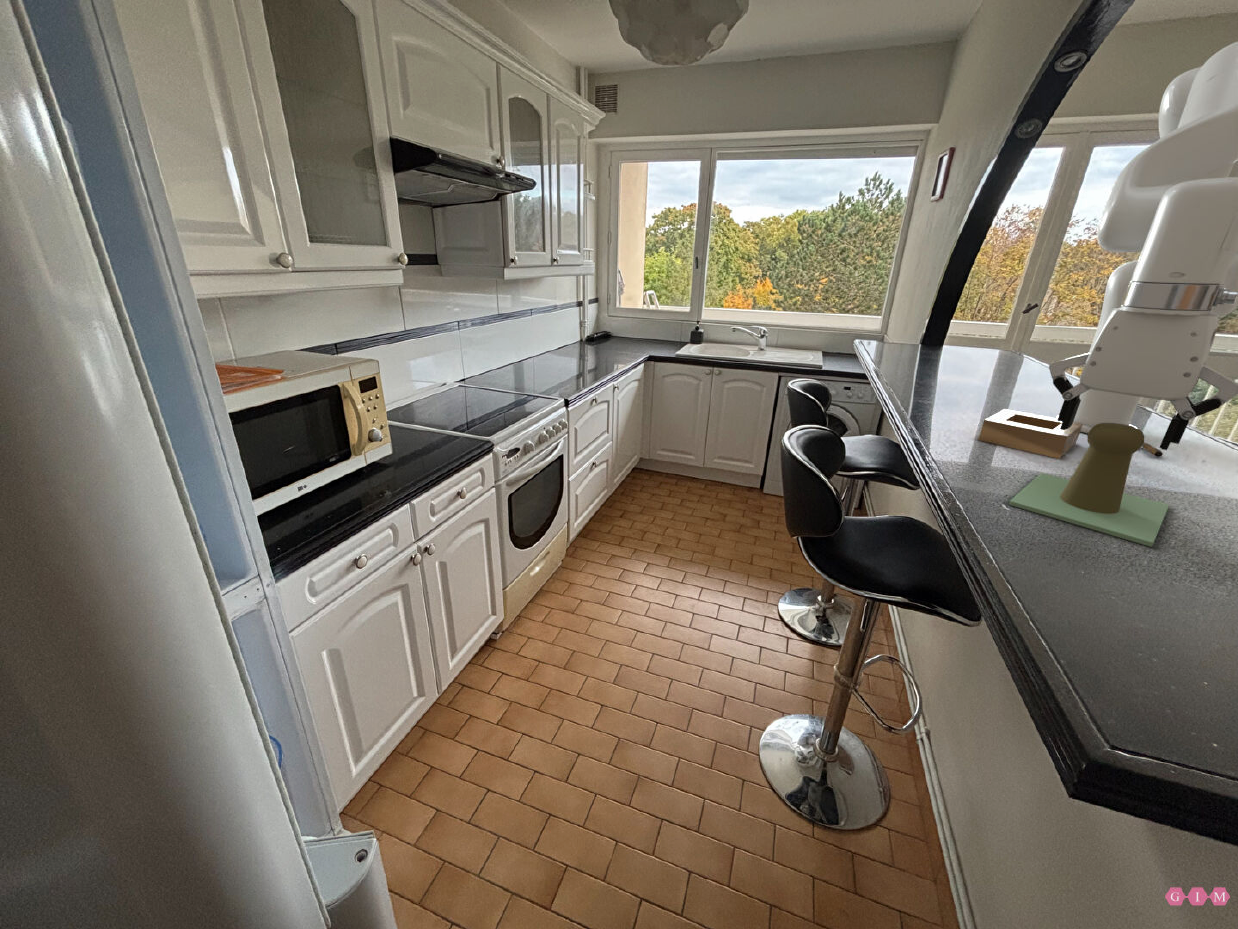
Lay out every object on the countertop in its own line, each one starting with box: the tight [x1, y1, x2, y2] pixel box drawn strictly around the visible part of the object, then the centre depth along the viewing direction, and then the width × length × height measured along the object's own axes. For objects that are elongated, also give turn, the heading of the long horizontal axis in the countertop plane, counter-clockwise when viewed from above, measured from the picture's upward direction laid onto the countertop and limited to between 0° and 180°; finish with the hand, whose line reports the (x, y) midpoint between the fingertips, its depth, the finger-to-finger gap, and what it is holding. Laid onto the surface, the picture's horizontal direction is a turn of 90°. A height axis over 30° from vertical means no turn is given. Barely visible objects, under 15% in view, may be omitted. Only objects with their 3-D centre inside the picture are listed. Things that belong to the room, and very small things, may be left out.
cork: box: [1060, 423, 1146, 514], centre depth 66 cm, size 6×6×11 cm
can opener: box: [1141, 441, 1164, 458], centre depth 90 cm, size 9×2×1 cm, turn 147°
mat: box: [1008, 472, 1170, 548], centre depth 68 cm, size 16×14×1 cm
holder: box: [977, 408, 1083, 460], centre depth 92 cm, size 12×12×4 cm
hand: (1112, 437), depth 66 cm, fingers open, 9 cm apart
